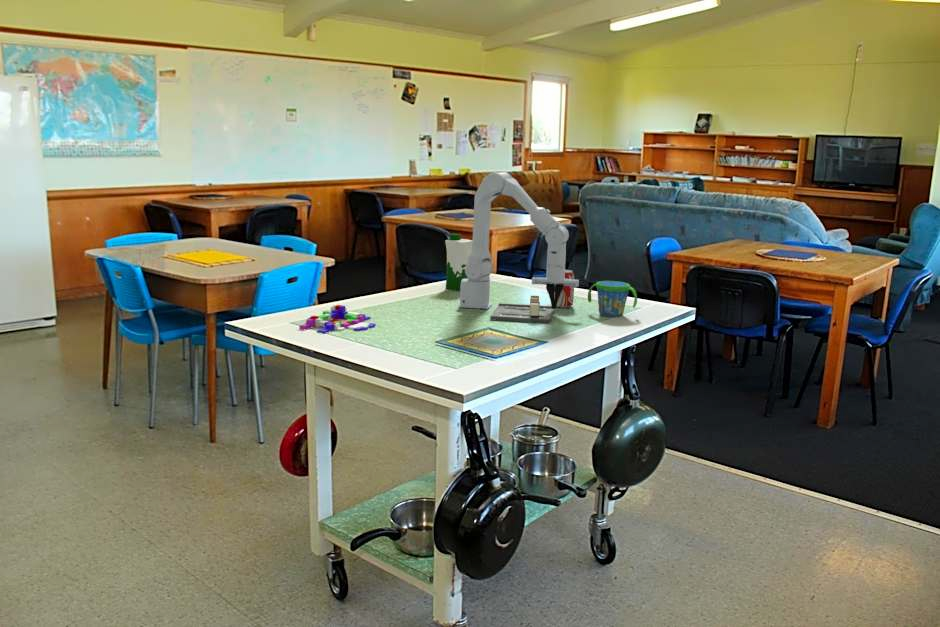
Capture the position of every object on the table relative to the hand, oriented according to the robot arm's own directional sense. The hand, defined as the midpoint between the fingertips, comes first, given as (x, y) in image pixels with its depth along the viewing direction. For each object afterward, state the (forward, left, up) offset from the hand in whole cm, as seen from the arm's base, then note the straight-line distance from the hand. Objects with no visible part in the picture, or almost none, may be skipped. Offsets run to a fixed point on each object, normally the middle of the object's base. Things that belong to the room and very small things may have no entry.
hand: (553, 307), depth 250 cm
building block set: (-59, -30, -3) cm, 66 cm away
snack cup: (+18, +5, -2) cm, 19 cm away
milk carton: (-37, +35, -2) cm, 51 cm away
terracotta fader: (-6, 0, -1) cm, 6 cm away
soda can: (+2, +14, -2) cm, 14 cm away
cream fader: (-5, -9, 0) cm, 10 cm away
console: (-9, -4, -2) cm, 10 cm away
